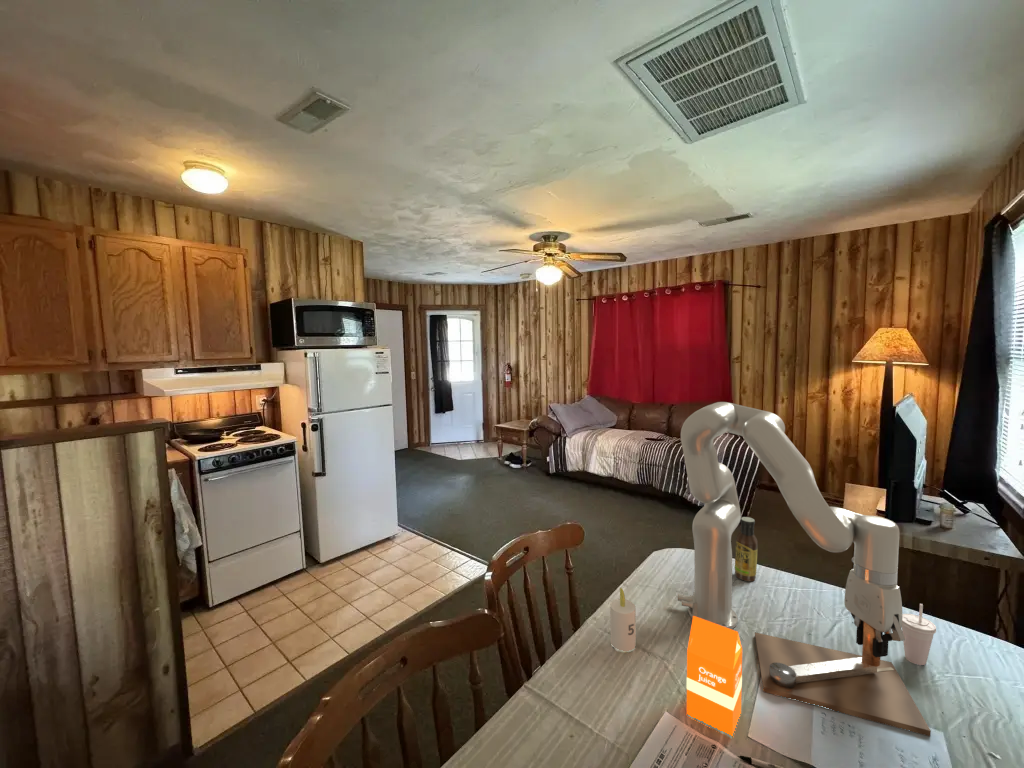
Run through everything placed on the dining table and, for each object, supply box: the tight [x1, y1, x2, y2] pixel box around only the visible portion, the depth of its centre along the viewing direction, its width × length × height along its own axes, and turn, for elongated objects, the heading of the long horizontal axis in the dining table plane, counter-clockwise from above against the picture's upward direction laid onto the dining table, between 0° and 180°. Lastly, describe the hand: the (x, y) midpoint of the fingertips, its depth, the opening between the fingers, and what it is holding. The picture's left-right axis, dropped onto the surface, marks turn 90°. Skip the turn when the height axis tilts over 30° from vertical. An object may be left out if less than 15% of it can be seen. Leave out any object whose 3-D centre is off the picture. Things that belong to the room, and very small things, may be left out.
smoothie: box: [901, 603, 937, 666], centre depth 102 cm, size 6×6×14 cm
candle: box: [609, 587, 637, 651], centre depth 110 cm, size 6×6×15 cm
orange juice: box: [686, 616, 743, 737], centre depth 88 cm, size 8×9×20 cm
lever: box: [769, 622, 882, 688], centre depth 97 cm, size 26×5×12 cm, turn 97°
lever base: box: [754, 632, 932, 737], centre depth 98 cm, size 28×20×1 cm
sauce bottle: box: [734, 516, 759, 582], centre depth 139 cm, size 6×6×20 cm
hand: (871, 648), depth 98 cm, fingers closed on lever, 3 cm apart
